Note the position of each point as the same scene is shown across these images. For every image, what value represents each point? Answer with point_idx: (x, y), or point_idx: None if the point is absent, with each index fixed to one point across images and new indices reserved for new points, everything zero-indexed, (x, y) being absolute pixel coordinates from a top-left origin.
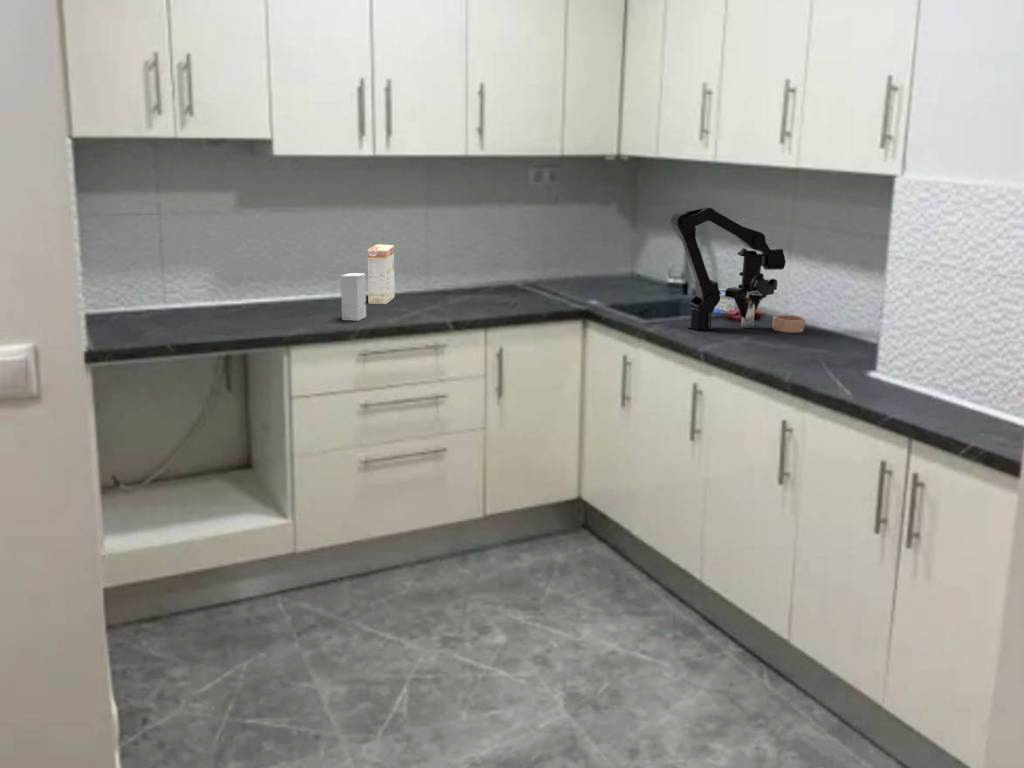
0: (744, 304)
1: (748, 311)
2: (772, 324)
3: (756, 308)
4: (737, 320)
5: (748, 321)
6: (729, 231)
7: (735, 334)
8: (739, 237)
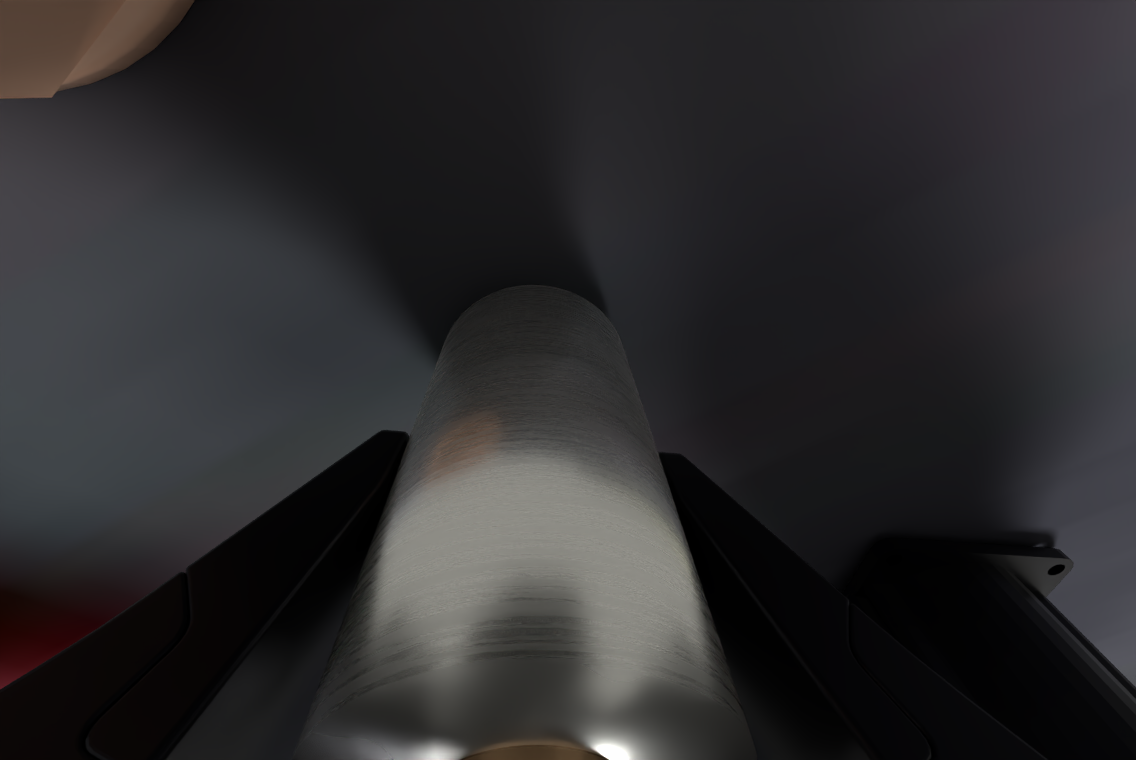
0: (1014, 754)
1: (674, 508)
2: (42, 97)
3: (263, 533)
4: None
5: (622, 362)
6: None
7: (1064, 238)
8: None
